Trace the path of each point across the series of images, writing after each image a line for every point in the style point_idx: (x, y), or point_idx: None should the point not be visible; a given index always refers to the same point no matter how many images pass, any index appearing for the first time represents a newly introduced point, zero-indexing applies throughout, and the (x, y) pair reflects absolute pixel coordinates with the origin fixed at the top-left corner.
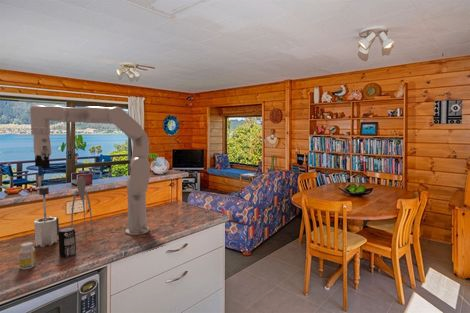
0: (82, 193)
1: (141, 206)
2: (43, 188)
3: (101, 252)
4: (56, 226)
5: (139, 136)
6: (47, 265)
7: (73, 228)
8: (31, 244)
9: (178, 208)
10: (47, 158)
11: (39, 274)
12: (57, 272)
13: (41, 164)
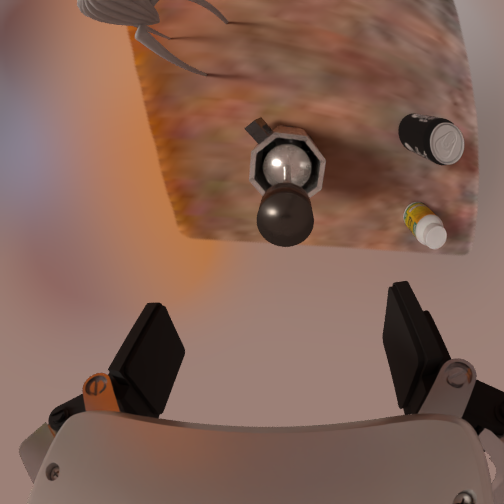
0: (153, 9)
1: None
2: (306, 225)
3: (447, 71)
4: (305, 133)
5: None
6: (437, 184)
7: (448, 124)
8: (445, 230)
9: None
10: (476, 388)
11: (462, 205)
12: (476, 179)
13: (161, 325)
